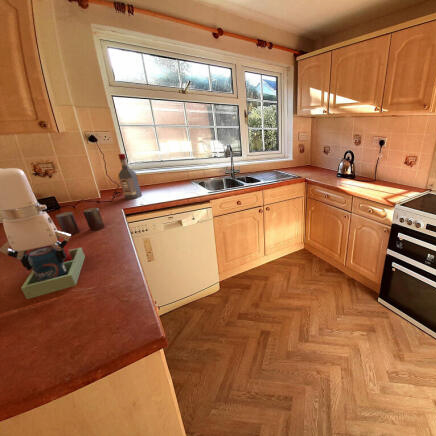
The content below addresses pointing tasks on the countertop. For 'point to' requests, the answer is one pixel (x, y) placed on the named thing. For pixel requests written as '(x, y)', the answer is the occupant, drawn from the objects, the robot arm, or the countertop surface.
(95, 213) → the grey tin right
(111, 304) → the countertop surface
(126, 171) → the liquor
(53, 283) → the can rack
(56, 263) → the soda can
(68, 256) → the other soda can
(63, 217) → the grey tin left
